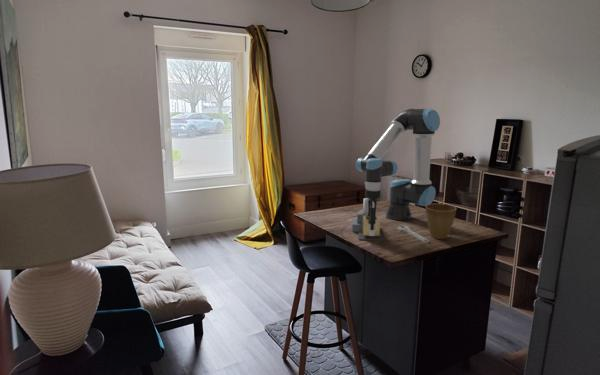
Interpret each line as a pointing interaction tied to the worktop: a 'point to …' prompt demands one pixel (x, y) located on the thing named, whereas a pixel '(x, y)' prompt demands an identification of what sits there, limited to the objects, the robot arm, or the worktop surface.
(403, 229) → the adjustable wrench
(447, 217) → the plant pot
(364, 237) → the rubber mat
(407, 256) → the worktop surface
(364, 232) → the brass collar
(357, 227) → the vise
